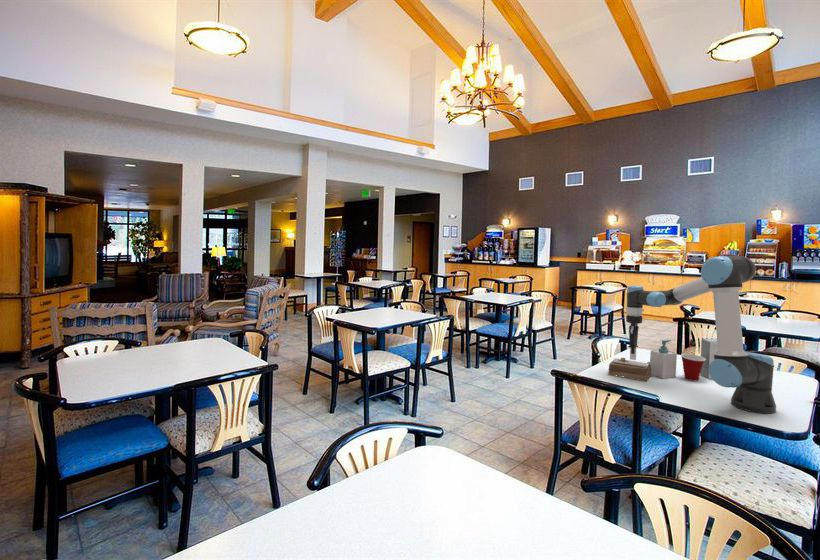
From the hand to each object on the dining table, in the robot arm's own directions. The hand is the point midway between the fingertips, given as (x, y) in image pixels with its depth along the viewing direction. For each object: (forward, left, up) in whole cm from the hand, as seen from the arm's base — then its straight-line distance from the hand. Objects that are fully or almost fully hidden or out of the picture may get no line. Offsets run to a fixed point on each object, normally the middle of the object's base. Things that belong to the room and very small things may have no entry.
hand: (632, 359), depth 229 cm
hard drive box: (+24, -37, -9) cm, 45 cm away
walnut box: (0, +1, -9) cm, 9 cm away
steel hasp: (0, +1, -3) cm, 3 cm away
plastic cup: (+12, -26, -9) cm, 30 cm away
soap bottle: (+10, -13, -9) cm, 19 cm away
